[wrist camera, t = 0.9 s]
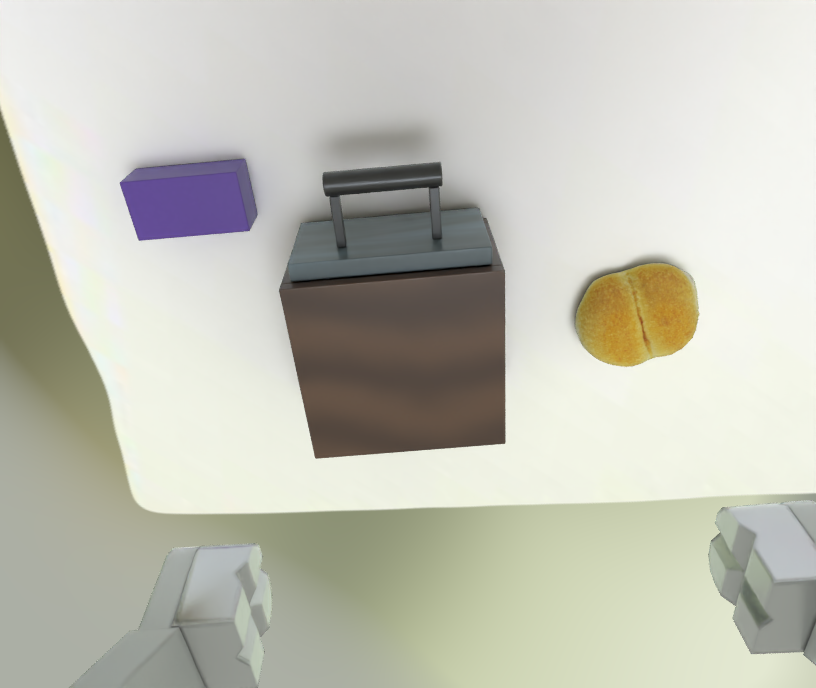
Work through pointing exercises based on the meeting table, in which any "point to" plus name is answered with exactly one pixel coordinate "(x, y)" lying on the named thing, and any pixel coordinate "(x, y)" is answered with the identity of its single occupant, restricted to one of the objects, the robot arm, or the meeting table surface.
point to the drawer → (388, 231)
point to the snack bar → (190, 199)
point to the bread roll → (638, 314)
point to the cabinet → (400, 359)
